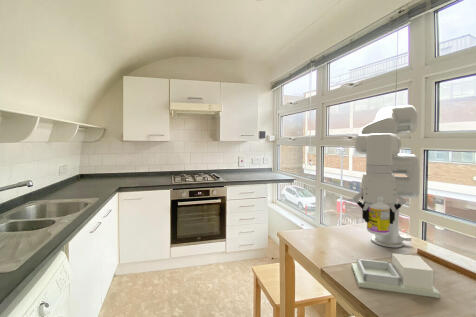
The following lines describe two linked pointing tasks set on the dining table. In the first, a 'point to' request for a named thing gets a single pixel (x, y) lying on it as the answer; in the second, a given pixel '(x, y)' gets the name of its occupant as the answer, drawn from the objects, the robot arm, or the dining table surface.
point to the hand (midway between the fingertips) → (378, 221)
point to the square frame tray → (397, 275)
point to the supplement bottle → (379, 218)
